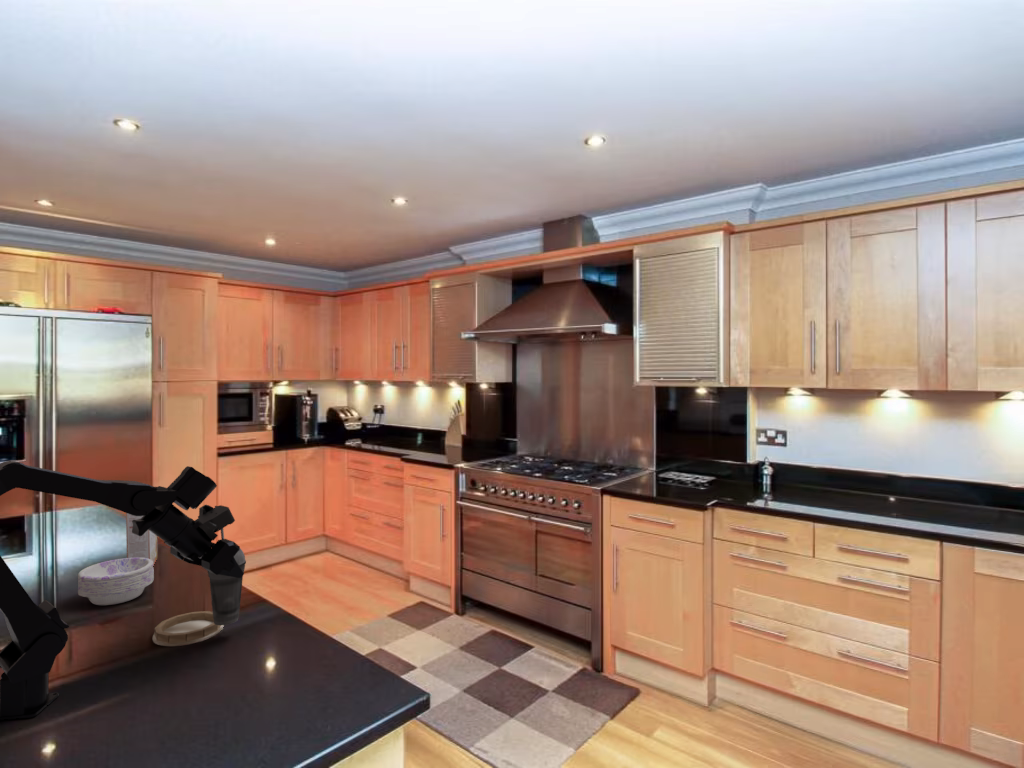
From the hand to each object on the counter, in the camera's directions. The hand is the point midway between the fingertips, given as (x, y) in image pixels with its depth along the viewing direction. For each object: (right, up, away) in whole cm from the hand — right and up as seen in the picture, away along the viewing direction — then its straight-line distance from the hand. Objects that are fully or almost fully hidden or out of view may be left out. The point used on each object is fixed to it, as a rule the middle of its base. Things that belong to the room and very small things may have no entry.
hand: (233, 572), depth 117 cm
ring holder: (-10, -13, +2) cm, 17 cm away
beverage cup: (-1, -10, -1) cm, 10 cm away
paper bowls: (-39, -14, +21) cm, 46 cm away
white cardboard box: (-48, -14, +45) cm, 67 cm away
